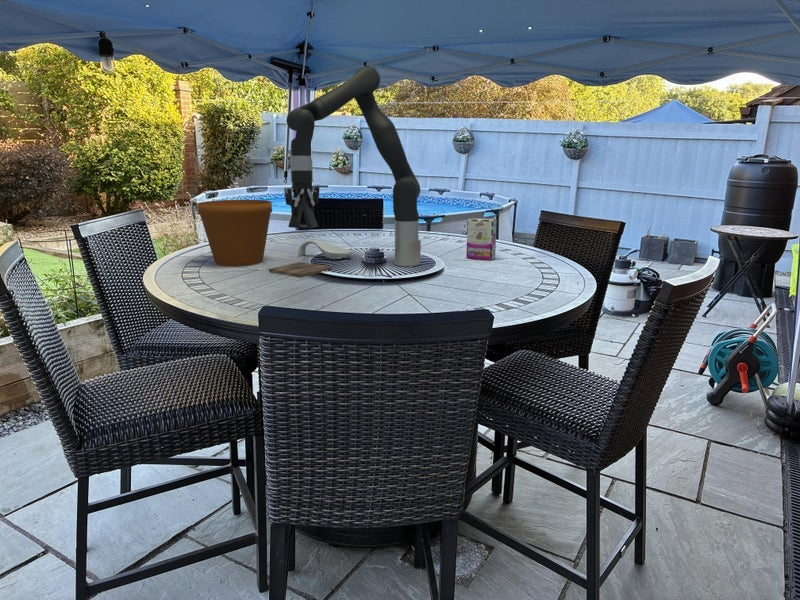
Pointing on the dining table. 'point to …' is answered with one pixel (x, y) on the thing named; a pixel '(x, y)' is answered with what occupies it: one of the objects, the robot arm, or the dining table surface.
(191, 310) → the dining table surface
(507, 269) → the dining table surface
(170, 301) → the dining table surface
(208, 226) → the flowerpot
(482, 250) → the candy bar box
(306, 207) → the phone stand
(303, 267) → the walnut board
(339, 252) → the spoon rest
